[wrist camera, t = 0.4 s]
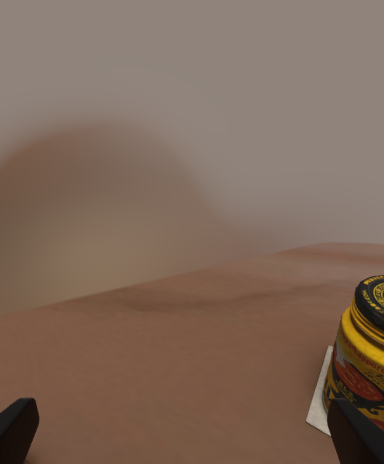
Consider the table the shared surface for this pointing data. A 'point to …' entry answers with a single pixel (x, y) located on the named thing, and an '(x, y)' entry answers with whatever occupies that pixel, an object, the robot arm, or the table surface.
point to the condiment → (355, 359)
